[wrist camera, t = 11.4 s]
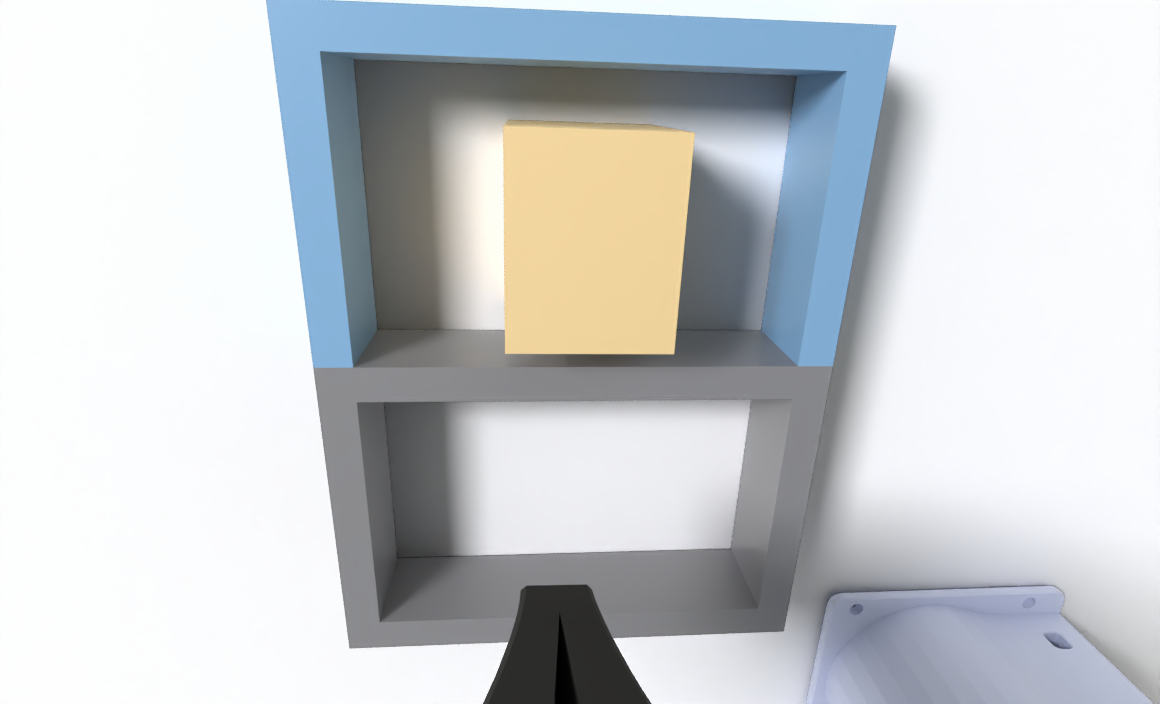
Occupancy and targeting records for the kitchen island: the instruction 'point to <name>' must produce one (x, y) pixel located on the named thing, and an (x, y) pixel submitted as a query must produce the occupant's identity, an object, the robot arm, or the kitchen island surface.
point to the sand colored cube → (593, 236)
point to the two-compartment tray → (485, 373)
